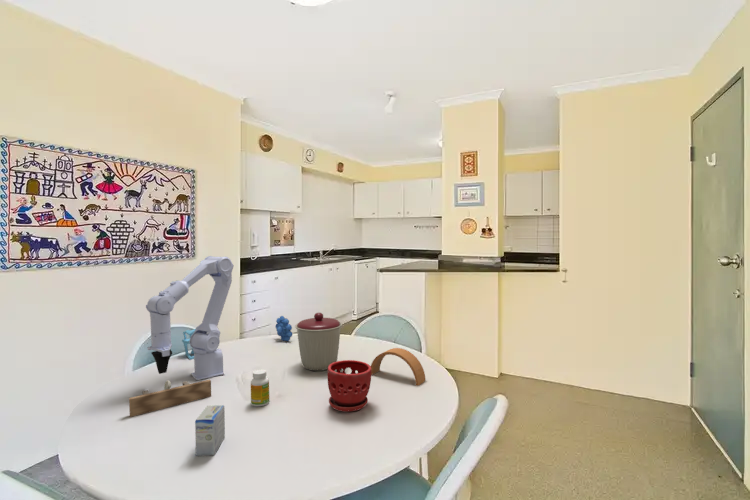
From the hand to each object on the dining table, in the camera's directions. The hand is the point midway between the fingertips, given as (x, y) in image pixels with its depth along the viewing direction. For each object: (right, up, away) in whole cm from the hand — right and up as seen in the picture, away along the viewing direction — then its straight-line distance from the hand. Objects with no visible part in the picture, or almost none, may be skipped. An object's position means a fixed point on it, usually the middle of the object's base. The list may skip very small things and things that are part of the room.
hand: (162, 372), depth 129 cm
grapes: (+26, -4, +59) cm, 64 cm away
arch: (+78, -5, +10) cm, 79 cm away
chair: (-7, -5, +38) cm, 39 cm away
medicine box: (+31, -7, -35) cm, 47 cm away
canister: (+49, -5, +22) cm, 54 cm away
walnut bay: (+6, -6, -7) cm, 11 cm away
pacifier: (+5, -7, -8) cm, 12 cm away
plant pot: (+63, -6, -13) cm, 65 cm away
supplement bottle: (+35, -6, -10) cm, 38 cm away
